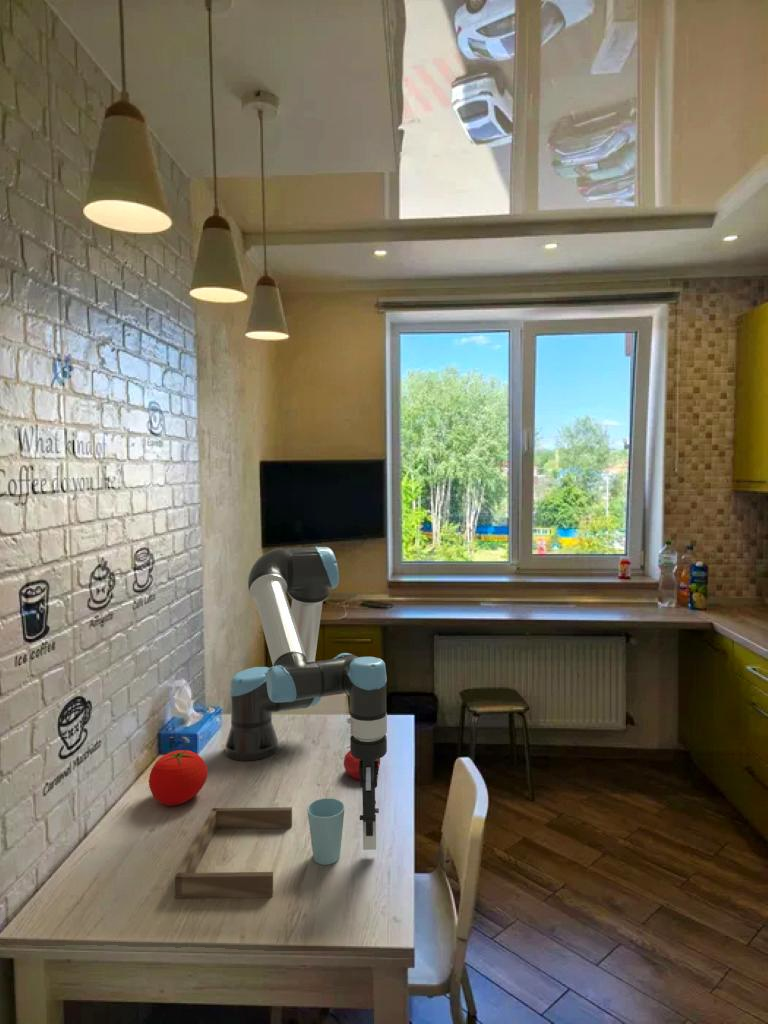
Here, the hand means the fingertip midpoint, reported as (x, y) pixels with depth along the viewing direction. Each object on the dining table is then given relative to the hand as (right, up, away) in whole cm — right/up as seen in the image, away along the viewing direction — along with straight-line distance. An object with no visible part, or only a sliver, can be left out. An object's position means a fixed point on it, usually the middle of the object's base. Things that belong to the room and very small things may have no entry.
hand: (369, 847), depth 122 cm
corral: (-27, -2, 0) cm, 27 cm away
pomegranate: (-3, -1, +36) cm, 36 cm away
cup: (-9, -2, 0) cm, 9 cm away
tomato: (-48, -2, +24) cm, 54 cm away
